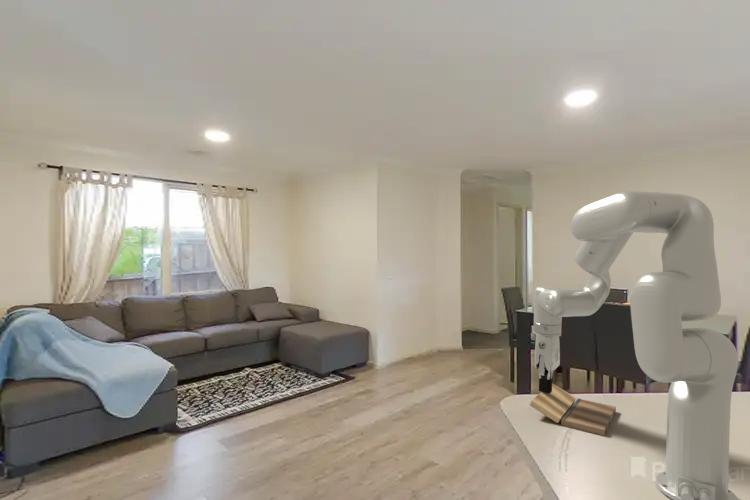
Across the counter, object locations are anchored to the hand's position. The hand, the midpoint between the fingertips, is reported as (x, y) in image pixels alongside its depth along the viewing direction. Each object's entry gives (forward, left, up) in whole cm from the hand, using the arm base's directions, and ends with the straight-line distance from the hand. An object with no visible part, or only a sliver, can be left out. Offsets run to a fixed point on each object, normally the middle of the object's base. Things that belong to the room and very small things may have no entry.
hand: (545, 391), depth 123 cm
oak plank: (0, -2, -3) cm, 4 cm away
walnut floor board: (0, -12, -5) cm, 13 cm away
